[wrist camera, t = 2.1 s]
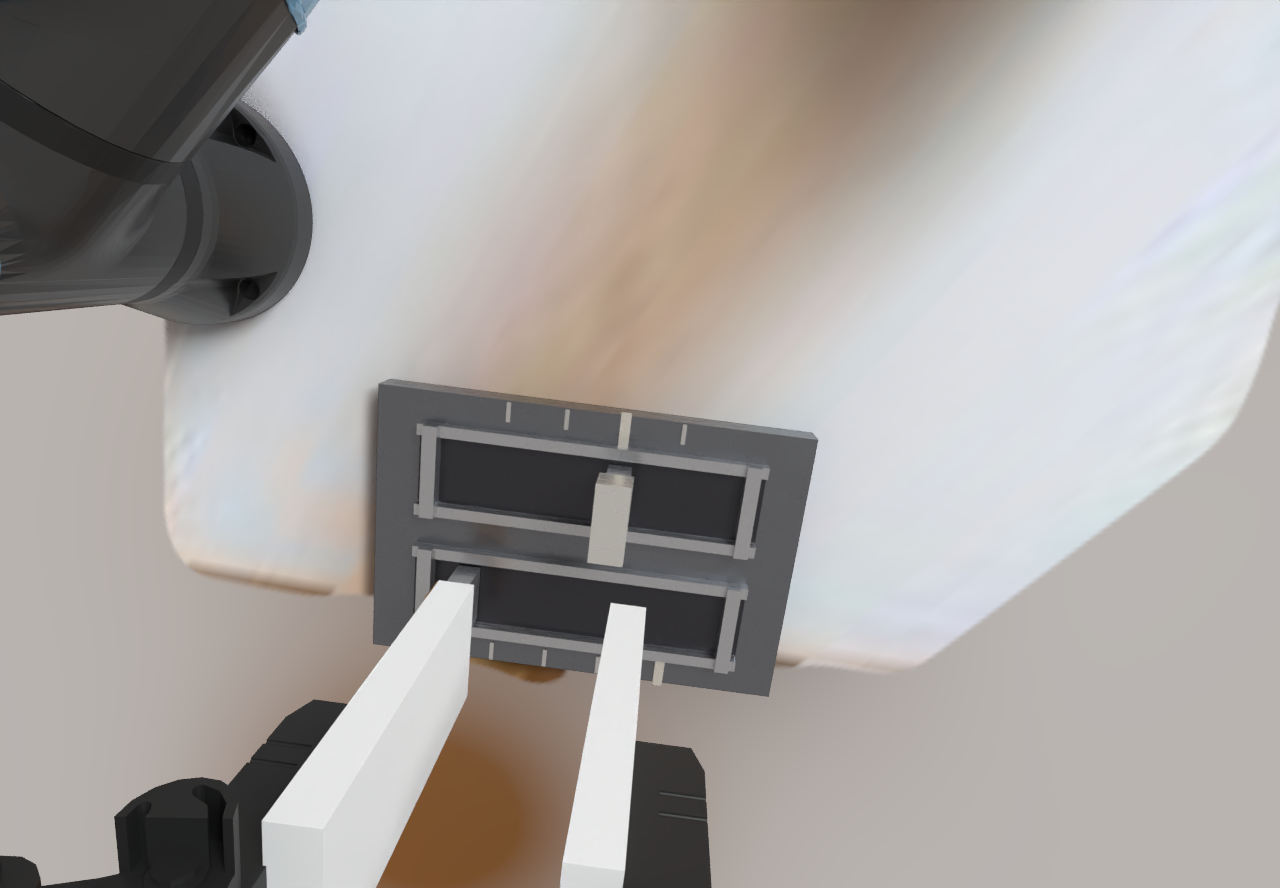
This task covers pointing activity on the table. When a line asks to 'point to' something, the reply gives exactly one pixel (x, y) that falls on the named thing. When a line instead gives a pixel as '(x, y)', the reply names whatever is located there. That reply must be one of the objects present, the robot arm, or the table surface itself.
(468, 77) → the table surface
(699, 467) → the console
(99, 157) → the robot arm
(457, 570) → the fader
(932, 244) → the table surface
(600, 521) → the fader
